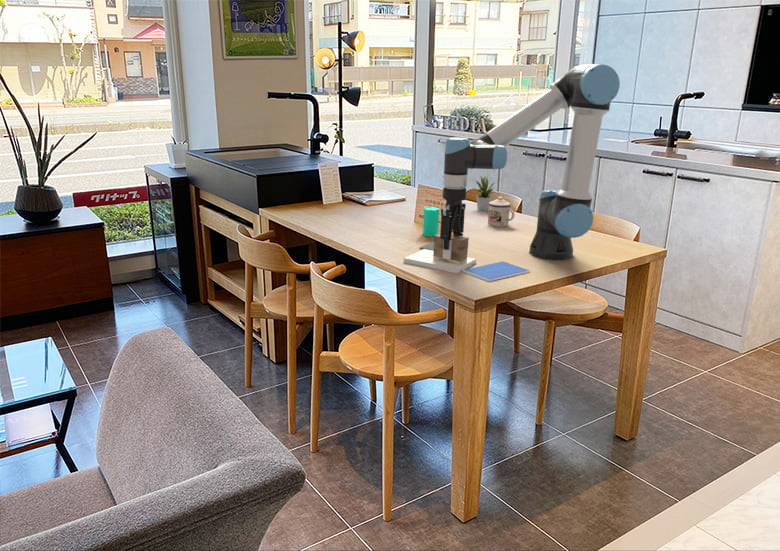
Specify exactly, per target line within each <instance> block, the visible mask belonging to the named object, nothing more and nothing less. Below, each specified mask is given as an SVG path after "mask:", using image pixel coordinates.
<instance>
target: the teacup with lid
mask: <svg viewBox="0 0 780 551" xmlns="http://www.w3.org/2000/svg"><path fill="white" fill-rule="evenodd" d="M510 213H511V217H510ZM487 216H488V217H487V224H488V225H490V226H493V227H506V226H508V225H509V223H510V221H512V220H514V218H515V211H514V210H513V209H512V208H511V203H510V202H508V201H507V200H505V199H504V198H503V197H502V196H498V197H497V198H496V199H494V200H491V202H489V210H488V215H487Z"/></svg>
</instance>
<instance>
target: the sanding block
mask: <svg viewBox="0 0 780 551" xmlns="http://www.w3.org/2000/svg"><path fill="white" fill-rule="evenodd" d="M433 237H434V238H433V239H434V240H433V242H434V253H433V259H436V260H441V261H446V262H451V263H456V264H462V263H464V262H466V261H467V257H468V250H469V237H468V236H464V235H463V236H457V235H453V234H452V235H451V240H452V250H451V259H450V260H449V259H444V258H443V242H444V239H441V238H440V233H438V234H437V235H435V236H433Z"/></svg>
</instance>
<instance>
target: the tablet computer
mask: <svg viewBox="0 0 780 551" xmlns="http://www.w3.org/2000/svg"><path fill="white" fill-rule="evenodd" d="M462 272H463V273H464V274H466V275H469V276H471V277H475V278H477V279H480V280H482V281H485V282H488V283H489V282H494V281H498V280H502V279H507V277H508V278H511V277H516V276H520V275H526V274H529V273H531V270H529V269H526V268H523V267H520V266H518V265H515V264H513V263H509V262H506V261H499V262H494V263H489V264H484V265H480V266H475V267H470V268H469V267H468V268H466V269H464V270H463V271H462Z"/></svg>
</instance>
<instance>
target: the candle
mask: <svg viewBox="0 0 780 551" xmlns="http://www.w3.org/2000/svg"><path fill="white" fill-rule="evenodd" d="M422 222H423V223H422V235H423V236H425V237H426V236H427V237H434V236H435V235H437V234H439V225H440V224H439V222H440V208H439V207H435V206H423V221H422Z"/></svg>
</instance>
